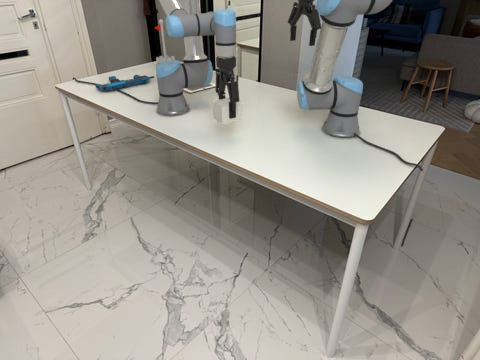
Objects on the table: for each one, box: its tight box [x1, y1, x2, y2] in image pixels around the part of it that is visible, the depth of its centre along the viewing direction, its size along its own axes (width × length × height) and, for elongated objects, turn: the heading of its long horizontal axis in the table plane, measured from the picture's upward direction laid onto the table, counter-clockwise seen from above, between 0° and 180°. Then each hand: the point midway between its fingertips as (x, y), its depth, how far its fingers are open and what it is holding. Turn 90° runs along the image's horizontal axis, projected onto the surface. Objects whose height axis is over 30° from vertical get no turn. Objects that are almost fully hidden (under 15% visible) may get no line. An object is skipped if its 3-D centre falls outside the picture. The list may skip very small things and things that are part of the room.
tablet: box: [183, 81, 216, 94], centre depth 207 cm, size 32×20×1 cm, turn 41°
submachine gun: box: [95, 74, 156, 92], centre depth 206 cm, size 34×4×25 cm
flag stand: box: [154, 18, 176, 66], centre depth 234 cm, size 13×13×30 cm
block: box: [212, 97, 243, 125], centre depth 137 cm, size 8×9×7 cm
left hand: (227, 114), depth 138 cm, fingers closed on block, 7 cm apart
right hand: (302, 43), depth 157 cm, fingers open, 13 cm apart
